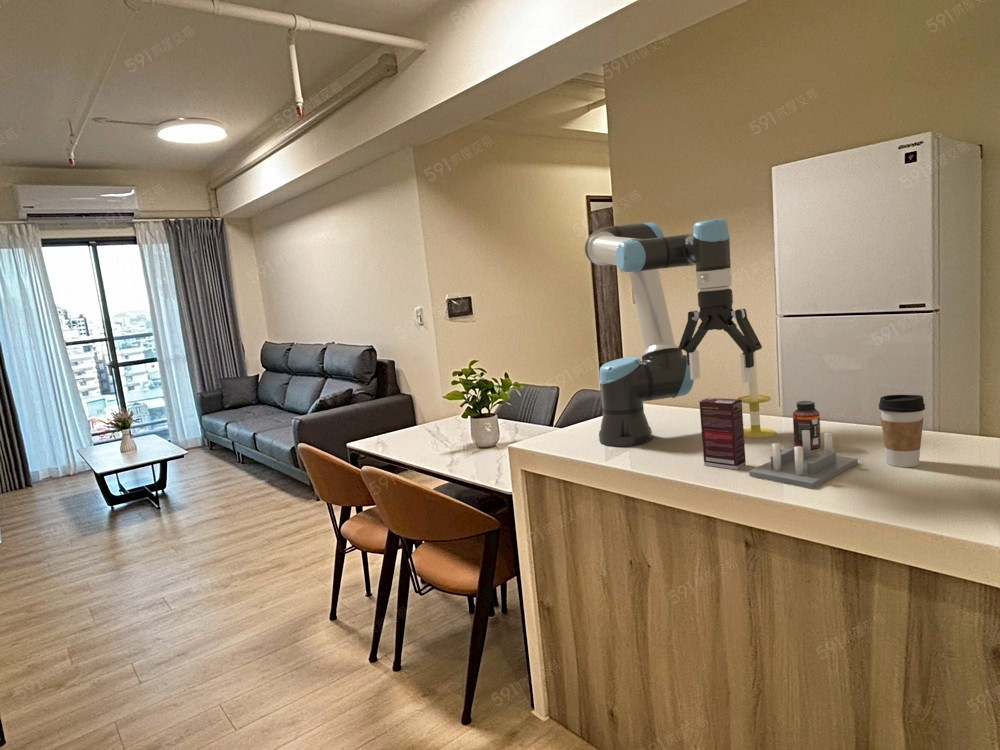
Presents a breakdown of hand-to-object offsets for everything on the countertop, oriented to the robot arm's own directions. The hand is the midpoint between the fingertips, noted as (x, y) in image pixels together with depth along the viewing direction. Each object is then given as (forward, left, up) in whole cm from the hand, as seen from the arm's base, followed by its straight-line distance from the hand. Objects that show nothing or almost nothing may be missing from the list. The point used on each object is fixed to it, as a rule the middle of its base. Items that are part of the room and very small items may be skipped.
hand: (720, 380), depth 143 cm
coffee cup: (+30, +21, -21) cm, 42 cm away
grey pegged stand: (+16, +6, -20) cm, 27 cm away
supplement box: (0, 0, -21) cm, 21 cm away
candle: (-9, +28, -21) cm, 36 cm away
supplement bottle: (+8, +23, -21) cm, 32 cm away
